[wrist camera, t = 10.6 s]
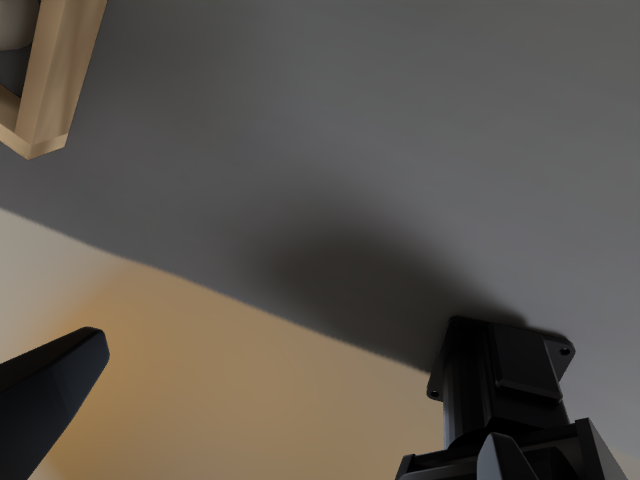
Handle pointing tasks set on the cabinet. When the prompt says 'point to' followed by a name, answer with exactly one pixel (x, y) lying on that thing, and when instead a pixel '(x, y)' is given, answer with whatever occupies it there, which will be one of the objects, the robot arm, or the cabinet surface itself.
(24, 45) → the paper roll
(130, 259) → the cabinet surface
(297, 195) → the cabinet surface
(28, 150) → the oak holder
